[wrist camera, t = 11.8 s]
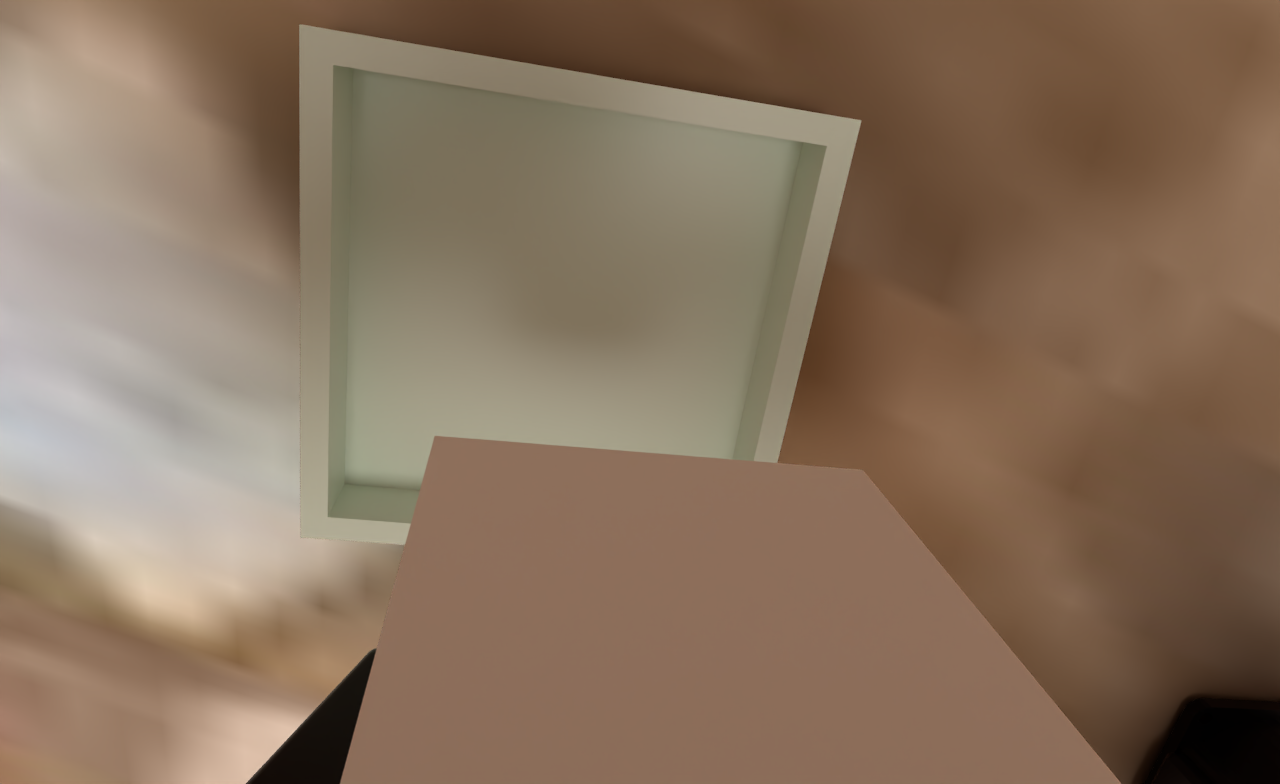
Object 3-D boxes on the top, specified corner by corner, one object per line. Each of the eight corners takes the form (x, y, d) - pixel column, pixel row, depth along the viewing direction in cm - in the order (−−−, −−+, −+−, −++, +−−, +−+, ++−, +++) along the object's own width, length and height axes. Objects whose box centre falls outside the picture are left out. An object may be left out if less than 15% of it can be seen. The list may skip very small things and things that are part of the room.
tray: (825, 116, 18) (861, 120, 16) (732, 523, 22) (750, 568, 20) (330, 31, 16) (299, 24, 14) (326, 491, 20) (300, 537, 18)
